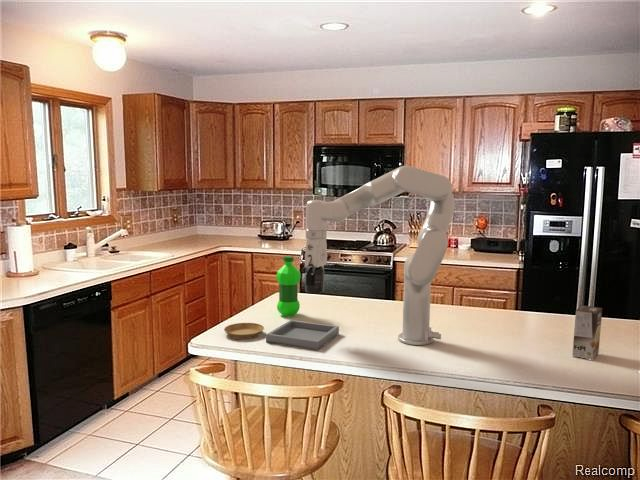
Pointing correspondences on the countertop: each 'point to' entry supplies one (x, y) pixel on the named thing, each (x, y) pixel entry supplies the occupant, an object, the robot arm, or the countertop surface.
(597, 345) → the coffee box
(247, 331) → the plant saucer
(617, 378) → the countertop surface
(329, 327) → the tray
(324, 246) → the robot arm
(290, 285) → the plastic bottle
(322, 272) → the supplement bottle
